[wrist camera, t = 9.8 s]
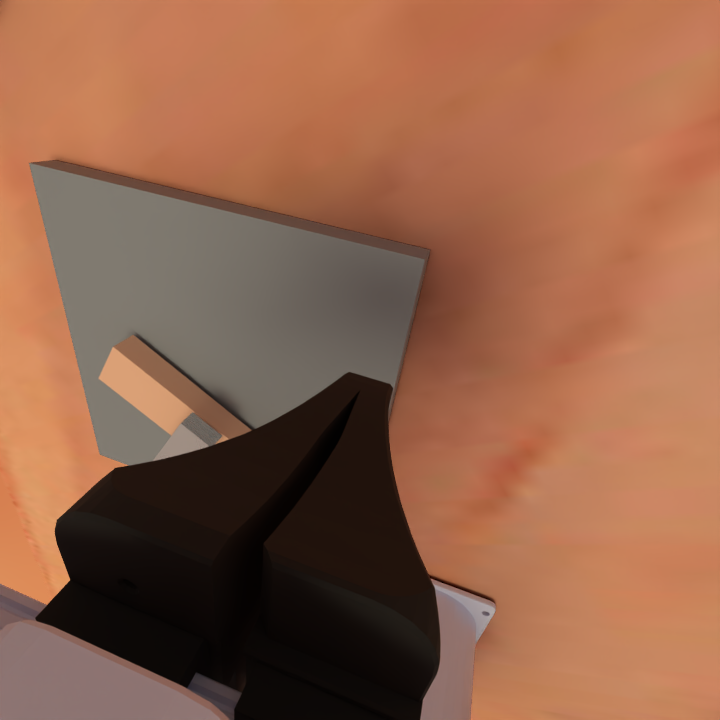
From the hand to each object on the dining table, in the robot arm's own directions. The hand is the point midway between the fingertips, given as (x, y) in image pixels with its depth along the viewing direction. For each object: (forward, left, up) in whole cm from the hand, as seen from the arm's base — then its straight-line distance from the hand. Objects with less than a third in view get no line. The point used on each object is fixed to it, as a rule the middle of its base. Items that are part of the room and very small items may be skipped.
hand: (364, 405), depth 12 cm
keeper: (-11, +10, -8) cm, 17 cm away
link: (-11, +9, -8) cm, 16 cm away
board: (-8, +10, -9) cm, 16 cm away
